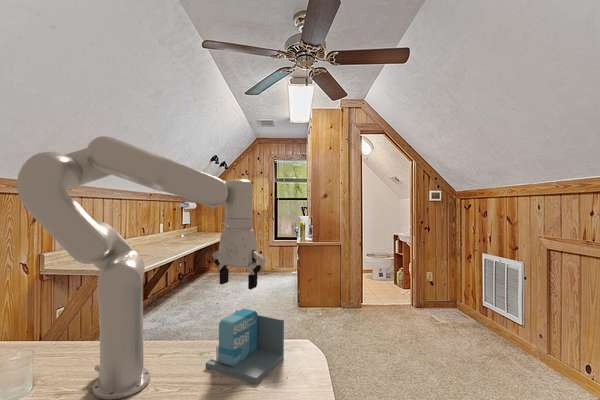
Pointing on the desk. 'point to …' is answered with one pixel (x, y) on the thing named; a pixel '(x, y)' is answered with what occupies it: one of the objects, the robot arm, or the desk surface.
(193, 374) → the desk surface
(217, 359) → the bookend
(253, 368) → the l-shaped stand
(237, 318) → the data package
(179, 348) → the desk surface
